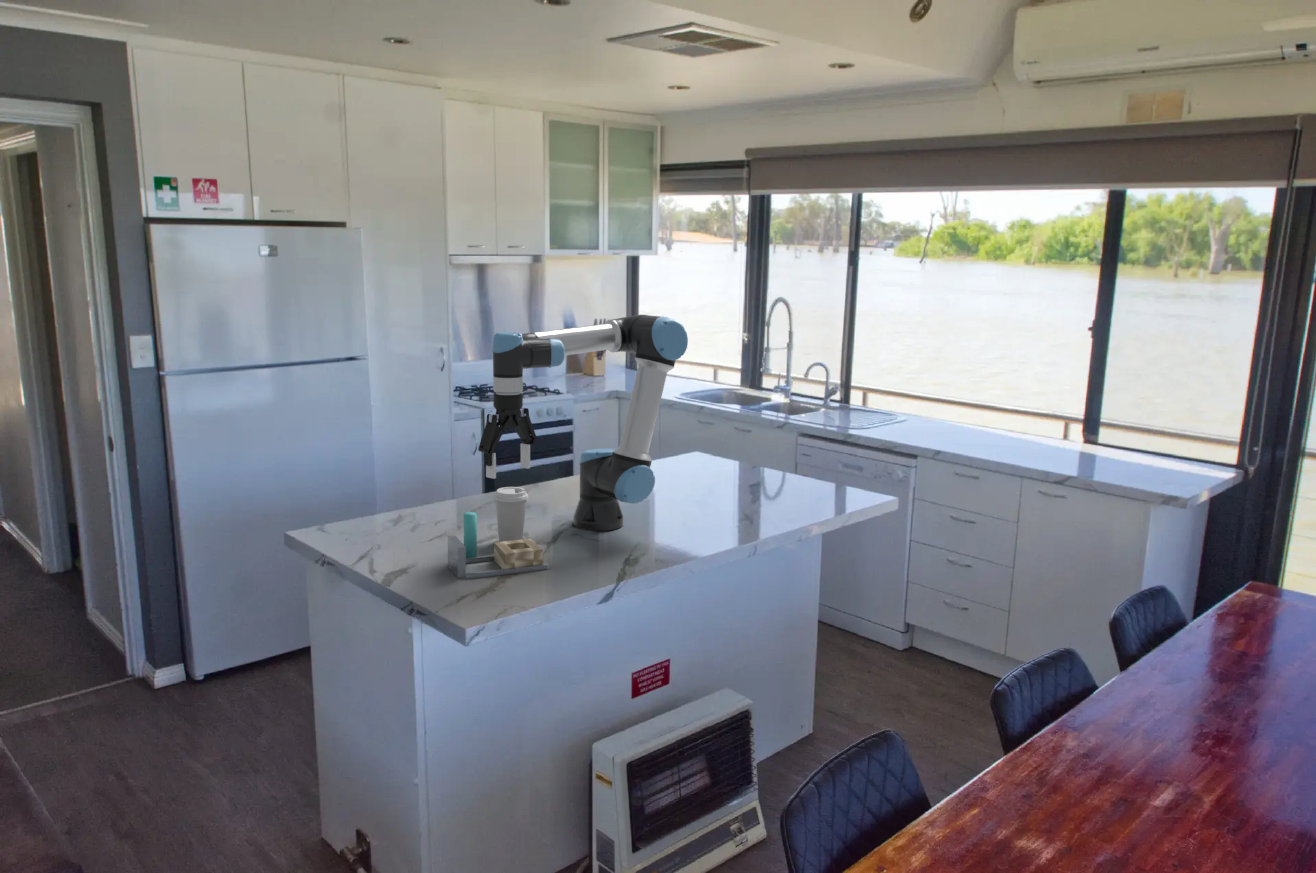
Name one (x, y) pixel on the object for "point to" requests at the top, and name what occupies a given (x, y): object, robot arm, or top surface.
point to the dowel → (470, 534)
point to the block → (517, 553)
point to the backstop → (459, 561)
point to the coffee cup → (510, 512)
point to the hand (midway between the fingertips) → (508, 472)
